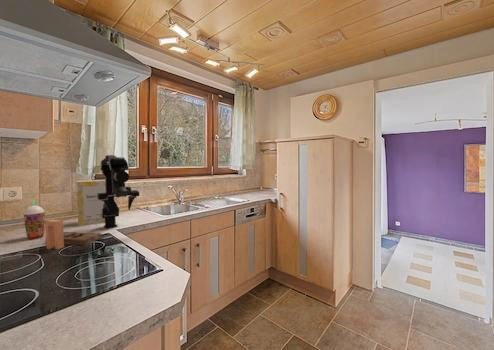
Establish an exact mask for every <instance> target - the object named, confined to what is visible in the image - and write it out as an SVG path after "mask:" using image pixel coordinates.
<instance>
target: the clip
mask: <svg viewBox="0 0 494 350" xmlns="http://www.w3.org/2000/svg"><path fill="white" fill-rule="evenodd" d="M63 220H64V219H49V220H46V221H45V225H44V230H45V243H46V244H45V245H46V250H50V249H53V248H54V250H59V249H62V248H65V244H64V236H63V232H64V224H63V222H64V221H63Z"/></svg>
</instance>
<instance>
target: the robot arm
mask: <svg viewBox="0 0 494 350" xmlns="http://www.w3.org/2000/svg"><path fill="white" fill-rule="evenodd" d="M99 167H100V171H101V174H102V175H103V176H104V180H105V188H106V192H105V193H98V194H97V199H98V200H101V201H104V205H103V208H102V213H101V215H102V218H105V223H104V225H103V227H104V229H111V228H116V227H118V224H117V223H116V222H117V221H116V217H119V216H120V208H119V206H118V204H117V203H116V202H115V197H116V198H122V197H127V199H128V200H127V203H128V204H127V207H128V208H127V210H131V206H132V204H133V202H134V200H135V199H137V197H139V196H140V191H139V190H137V189H132V187H131V186H126V182H127V181H128V180H129V179H130V175H129V173H128V172H127V171H129V162H128V161H127V159H126V158H125V157H122V156H120V157H117V155H114V154H113V155H112V154H110V155H109V154H106V155H105V157H104V158H103V159H101V161H100V166H99ZM104 215H105V216H104Z"/></svg>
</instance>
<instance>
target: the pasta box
mask: <svg viewBox="0 0 494 350" xmlns="http://www.w3.org/2000/svg"><path fill="white" fill-rule="evenodd" d="M75 186H76V199H77V201H76V204H77V222H78V223H77V224H78V227H83V226H84V227H85V226H90V225H97V224H105V218H102V215H101V213H102V208H103V205H104V201H101V200H98V199H97V194H98V193H105V192H106V188H105V179H89V180H76V185H75ZM104 216H105V215H104Z"/></svg>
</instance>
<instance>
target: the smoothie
mask: <svg viewBox="0 0 494 350" xmlns="http://www.w3.org/2000/svg"><path fill="white" fill-rule="evenodd" d="M35 203H36V202H35V199H33V200H32V205H30V206H28V207H27V208H26V209H25V210H24V212H23V222H24V226H25V234H26V237H27V238H28V240H36V239H41V238H43V237H44V235H45V218H46V217H45V215H46V211H45V210H44V208H43V207H41V206H39V205H35Z"/></svg>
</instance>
